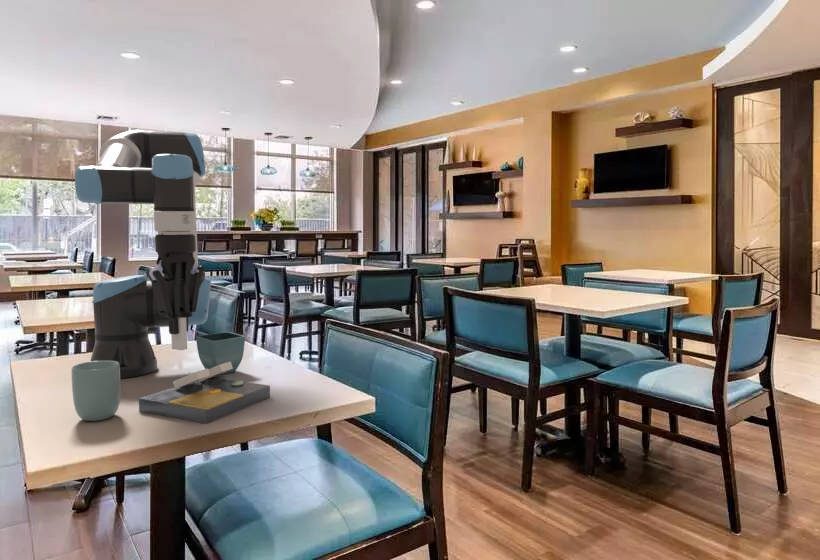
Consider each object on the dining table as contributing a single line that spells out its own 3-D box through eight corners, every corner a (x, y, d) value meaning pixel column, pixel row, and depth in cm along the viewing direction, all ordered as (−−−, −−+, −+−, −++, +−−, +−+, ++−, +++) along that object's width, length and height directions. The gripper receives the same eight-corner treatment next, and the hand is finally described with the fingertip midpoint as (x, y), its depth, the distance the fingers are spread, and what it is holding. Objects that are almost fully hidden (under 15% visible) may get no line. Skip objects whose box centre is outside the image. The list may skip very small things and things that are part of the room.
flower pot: (247, 371, 142) (246, 335, 141) (213, 378, 136) (212, 340, 135) (228, 366, 148) (227, 331, 147) (196, 372, 142) (194, 336, 141)
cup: (86, 411, 111) (83, 360, 110) (128, 410, 112) (126, 359, 111) (66, 425, 104) (62, 370, 103) (111, 424, 104) (108, 369, 103)
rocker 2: (199, 381, 123) (196, 373, 123) (210, 378, 126) (207, 370, 126) (222, 371, 120) (219, 363, 120) (233, 368, 123) (230, 360, 123)
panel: (139, 411, 112) (138, 394, 111) (208, 387, 128) (207, 373, 127) (206, 423, 104) (206, 406, 104) (271, 397, 120) (270, 381, 120)
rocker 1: (175, 389, 117) (172, 381, 117) (187, 385, 120) (184, 377, 120) (198, 379, 114) (195, 371, 114) (210, 375, 117) (207, 367, 117)
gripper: (162, 234, 109) (167, 357, 111) (213, 232, 120) (216, 344, 123) (134, 233, 112) (139, 353, 114) (186, 232, 123) (190, 341, 126)
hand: (179, 348), depth 119 cm, fingers closed
